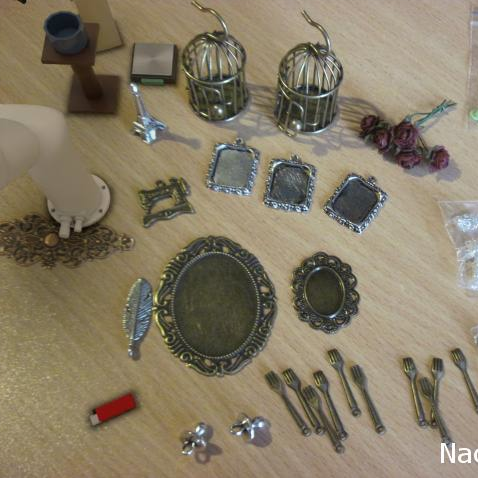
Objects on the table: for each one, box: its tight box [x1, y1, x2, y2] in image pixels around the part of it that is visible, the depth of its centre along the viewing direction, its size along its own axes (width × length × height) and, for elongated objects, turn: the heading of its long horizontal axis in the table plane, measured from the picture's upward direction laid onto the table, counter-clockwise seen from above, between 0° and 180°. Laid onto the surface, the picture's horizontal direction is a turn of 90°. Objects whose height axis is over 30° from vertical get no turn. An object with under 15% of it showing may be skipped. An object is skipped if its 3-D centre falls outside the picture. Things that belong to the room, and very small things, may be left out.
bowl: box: [43, 10, 88, 55], centre depth 109 cm, size 7×7×5 cm
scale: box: [129, 42, 178, 86], centre depth 131 cm, size 11×10×3 cm
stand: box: [40, 23, 120, 115], centre depth 119 cm, size 10×10×18 cm
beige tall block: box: [69, 0, 123, 53], centre depth 124 cm, size 8×7×21 cm
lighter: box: [89, 392, 137, 426], centre depth 103 cm, size 3×1×8 cm
